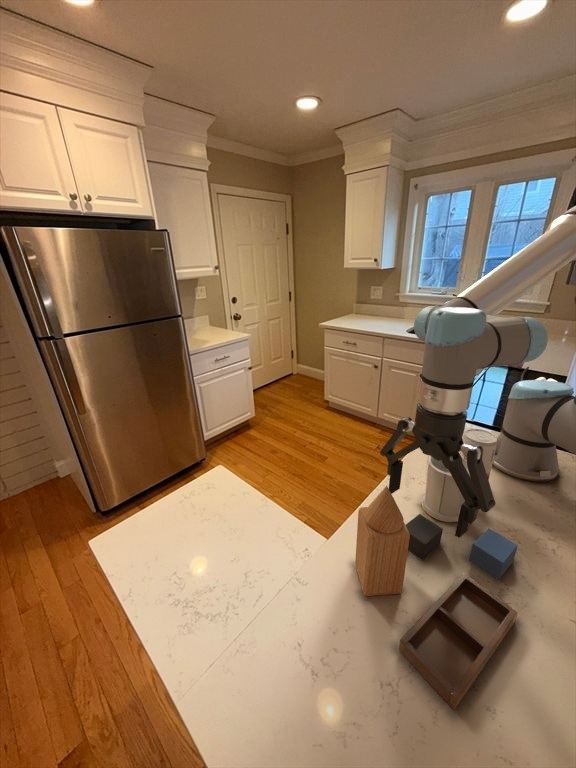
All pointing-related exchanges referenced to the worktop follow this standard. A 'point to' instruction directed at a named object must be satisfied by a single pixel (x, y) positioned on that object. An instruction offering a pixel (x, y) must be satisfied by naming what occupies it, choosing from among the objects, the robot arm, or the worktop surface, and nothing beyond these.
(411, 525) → the dark grey block
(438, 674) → the holder
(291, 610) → the worktop surface
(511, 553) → the slate blue block
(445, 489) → the cup
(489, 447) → the beverage can
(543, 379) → the figurine
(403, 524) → the decorative item
